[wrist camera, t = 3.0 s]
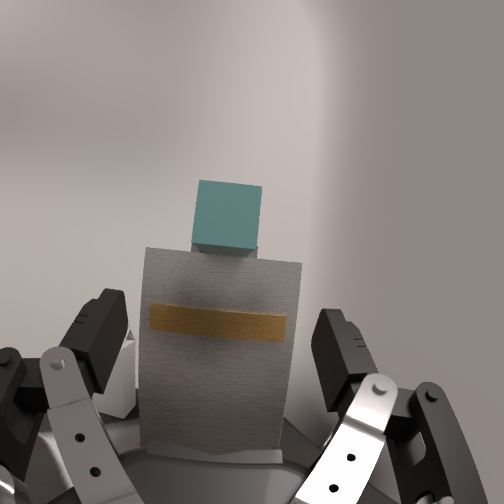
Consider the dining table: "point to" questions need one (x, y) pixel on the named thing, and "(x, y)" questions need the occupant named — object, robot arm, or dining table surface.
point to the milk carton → (120, 382)
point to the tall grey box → (215, 349)
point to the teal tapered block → (226, 218)
